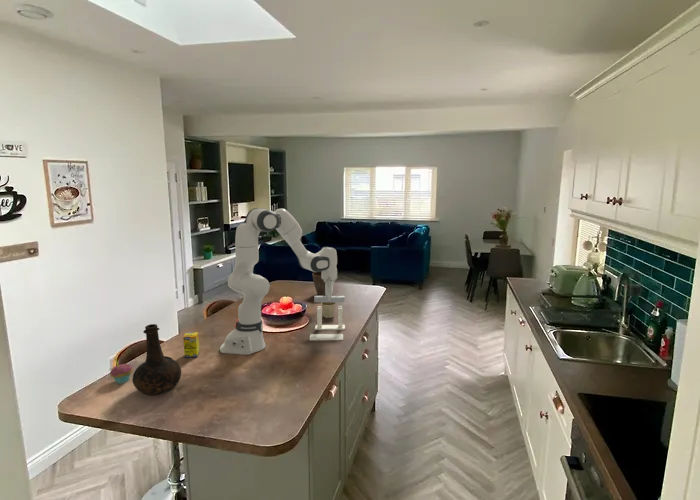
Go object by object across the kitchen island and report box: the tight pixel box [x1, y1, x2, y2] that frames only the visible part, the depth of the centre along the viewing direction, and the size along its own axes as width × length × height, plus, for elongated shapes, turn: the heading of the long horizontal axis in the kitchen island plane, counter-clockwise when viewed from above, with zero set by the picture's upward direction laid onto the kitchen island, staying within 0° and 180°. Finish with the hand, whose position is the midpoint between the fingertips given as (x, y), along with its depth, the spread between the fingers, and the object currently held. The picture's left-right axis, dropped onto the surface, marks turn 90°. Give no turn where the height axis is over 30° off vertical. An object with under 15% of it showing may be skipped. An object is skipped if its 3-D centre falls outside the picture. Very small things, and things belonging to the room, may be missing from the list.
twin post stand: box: [314, 305, 346, 331], centre depth 238 cm, size 17×6×12 cm, turn 91°
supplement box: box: [182, 331, 200, 359], centre depth 203 cm, size 6×6×11 cm
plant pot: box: [312, 272, 326, 296], centre depth 304 cm, size 15×15×16 cm
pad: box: [309, 333, 344, 341], centre depth 225 cm, size 18×8×1 cm, turn 91°
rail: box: [313, 295, 345, 304], centre depth 236 cm, size 17×3×3 cm, turn 91°
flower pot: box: [320, 302, 337, 319], centre depth 258 cm, size 9×9×9 cm
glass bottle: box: [132, 323, 182, 396], centre depth 169 cm, size 18×18×28 cm
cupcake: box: [109, 357, 134, 385], centre depth 178 cm, size 9×8×12 cm
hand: (329, 299), depth 236 cm, fingers closed on rail, 3 cm apart
